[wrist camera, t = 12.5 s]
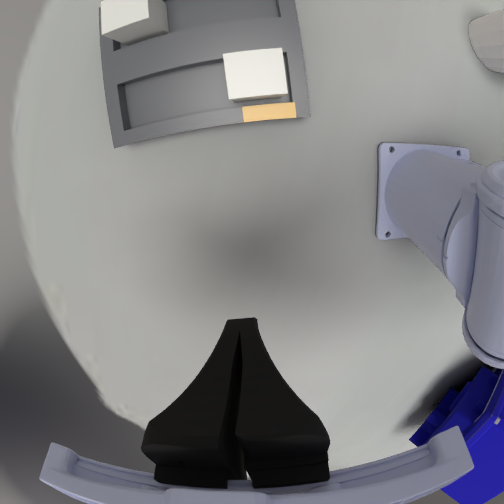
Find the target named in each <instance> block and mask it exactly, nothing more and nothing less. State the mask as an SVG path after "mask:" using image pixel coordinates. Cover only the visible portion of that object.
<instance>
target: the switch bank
mask: <svg viewBox="0 0 504 504" xmlns="http://www.w3.org/2000/svg"><path fill="white" fill-rule="evenodd" d="M163 1H164V3H165V4H166V7H167V18H168V28H169V34H165V35H162V36H158V37H155V38H151V39H148V40H145V41H142V42H139V43H136V44H133V45H130V46H128V45H126V44H123V43H121V42H118V41H116V40H113V39H111V38H108V37H106V36H103V35H102V30H101V7H100V8H99V29H100V47H101V60H102V71H103V80H104V89H105V96H106V104H107V110H108V117H109V123H110V129H111V134H112V140H113V145H114V148H117V147H121V146H124V145H128V144H132V143H136V142H140V141H144V140H148V139H152V138H156V137H161V136H165V135H170V134H175V133H180V132H185V131H190V130H196V129H202V128H207V127H214V126H220V125H227V124H234V123H242V122H251V121H261V120H271V119H284V118H298V117H310V107H309V97H308V88H307V79H306V71H305V64H304V56H303V49H302V43H301V36H300V30H299V24H298V18H297V12H296V7H295V1H294V0H163ZM271 48H282V52H283V59H284V66H285V74H286V82H287V90H288V94H286V95H285V96H283V97H281V98H272V99H261V100H251V101H242V102H235V103H234V102H233V101H231V100H229V97H228V89H227V82H226V74H225V67H224V59H223V54H225V53H232V52H240V51H249V50H259V49H271Z"/></svg>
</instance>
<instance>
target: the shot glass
mask: <svg viewBox="0 0 504 504" xmlns="http://www.w3.org/2000/svg"><path fill="white" fill-rule="evenodd" d="M468 29H469V38H470V41H471V45H472V48H473V50H474V51H475V53H476V55H477V57H478V58H479V60H480V61H481V62H482V63H483V65H484V66H485V67H487V68H488V69H490V70H491V71H495V72H502V73H504V9H503V10H500V11H497V12H494V13H491V14H488V15H485V16H482V17H480V18H477V19H475V20H472V21H471V22H470V25H469V27H468Z"/></svg>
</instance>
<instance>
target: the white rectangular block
mask: <svg viewBox="0 0 504 504" xmlns="http://www.w3.org/2000/svg"><path fill="white" fill-rule="evenodd" d="M101 30H102V35H103V36H106V37H108V38H111V39H113V40H116V41H118V42H121V43H123V44H126V45H128V46H130V45H133V44H136V43H139V42H142V41H145V40H148V39H151V38H155V37H158V36H162V35H165V34H169V28H168V18H167V7H166V4H165V3H164V1H163V0H105V1H103V2H101Z"/></svg>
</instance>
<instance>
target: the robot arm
mask: <svg viewBox="0 0 504 504" xmlns="http://www.w3.org/2000/svg"><path fill="white" fill-rule="evenodd" d="M390 146H392V148H393V149H392V151H391V152H389V147H390ZM457 151H458V154H457ZM378 152H379V179H378V209H377V226H376V236H377V238H378V239H379V240H389V239H398V238H409V239H410V240H411V241H412V242H413V243H414V244H415V245H416V246H417V247H418V248H419V249H420V250H421V251H422V252H423V253H424V254H425V255H426V256H427V257H428V258H429V259H430V260H431V261H432V262H433V263H434V265H435V266H436V267H437V268H438V269H439V270H440V271H441V272H442V273H443V274H444V276H445V277H446V278H447V279H448V280H449V281H450V283H451V284H452V285H453V286H454V287H455V289H456V298H457V299H458V300H459V301H460V303H461V304H462V305H463V306H464V308H466V309H465V312H464V316H463V321H462V329H463V335H464V339H465V341H466V343H467V345H468V347H469V349H470V350H471V351H472V353H473V354H474V355H475V356H476V357H477V358H478V359H480V360H481V361H482V362H484V363H486V364H488V365H490V366H492V367H495V368H500V369H504V160H502V161H497V162H494V163H492V164H490V165H489V166H488V167H484V166H482V165H480V164H477V163H475V162H472V161H469V160H470V152H469V150H468V149H467V148H463V147H454V146H443V145H431V144H415V143H390V142H383V143H381V144H380V145H379V148H378ZM388 231H389V234H388V235H385V234H386V232H388ZM329 445H330V438H329V435H328V433H327V431H326V429H325V427H324V425H323V423H322V422H321V420H320V418H319V417H318V416H317V415H316V414H315V413H314V412H313V411H312V410H311V409H310V408H309V407H308V406H306V405H305V403H304V402H303V401H302V400H301V399H300V398H299V397H298V396H297V395H296V394H295V392H294V391H293V390H292V389H291V388H290V387H289V385H288V384H287V383H286V381H285V380H284V379H283V377H282V376H281V374H280V373H279V371H278V370H277V368H276V367H275V365H274V363H273V361H272V360H271V358H270V356H269V354H268V352H267V350H266V348H265V346H264V343H263V341H262V339H261V336H260V333H259V329H258V323H257V319H256V318H243V319H231V320H228V321H227V322H226V325H225V327H224V330H223V332H222V334H221V336H220V338H219V341H218V343H217V344H216V346H215V348H214V350H213V352H212V354H211V355H210V357H209V359H208V360H207V362H206V363H205V365H204V367H203V368H202V370H201V371H200V372H199V374H198V375H197V376H196V378H195V379H194V380H193V382H192V383H191V384H190V385H189V386H188V387H187V389H186V390H185V391H184V392H183V393H182V394H181V395H180V396H179V397H178V398H177V399H176V400H175V401H174V402H173V403H172V404H171V405H170V406H169V407H167V408H166V409H165V410H164V411H163V412H161V413H160V414H159V415H157V416H156V417H155V418H153V419H152V420H151V421H149V423H148V425H147V428H146V431H145V433H144V438H143V442H142V446H141V450H142V452H143V453H144V454H145V455H146V456H147V457H148V458H149V459H150V460H152V461H153V462H154V463H155V464H156V468H155V473H154V474H153V473H147V472H141V471H136V470H131V469H126V468H121V467H117V466H113V465H109V464H105V463H101V462H98V461H94V460H91V459H87V458H84V457H81V456H78V455H77V454H76V453H75V452H74V451H72V450H71V449H69V448H67V447H64V446H61V445H59V444H56V443H53V442H52V443H51V445H50V448H49V451H48V454H47V456H46V459H45V462H44V465H43V468H42V472H41V474H40V480H42V481H43V482H45V483H46V484H48V485H50V486H52V487H53V488H55V489H57V490H59V491H61V492H63V493H64V494H66V495H68V496H71V497H73V498H75V499H78V500H80V501H82V502H85V503H88V504H407V503H409V502H412V501H414V500H417V499H419V498H421V497H424V496H426V495H428V494H430V493H433V492H434V491H437V490H439V489H441V488H443V487H445V486H447V485H449V484H451V483H452V482H454V481H456V480H457V479H459V478H460V477H462V476H463V475H465V474H466V473H468V472H469V471H471V470H472V469H473V468H474V464H473V461H472V459H471V456H470V453H469V451H468V448H467V446H466V443H465V441H464V438H463V436H462V433H461V431H460V429H459V426H455V427H452V428H450V429H448V430H446V431H444V432H441V433H439V434H437V435H435V436H434V437H433V438H431V439H430V440H429V442H428V443H427V444H425V445H422V446H419V447H417V448H414V449H411V450H409V451H406V452H403V453H400V454H397V455H394V456H391V457H387V458H384V459H381V460H377V461H374V462H370V463H366V464H362V465H358V466H354V467H349V468H345V469H340V470H335V471H330V472H329V466H328V453H327V451H328V448H329ZM246 470H247V472H248V474H249V476H250V478H251V480H247V474H246ZM301 492H304V494H292V493H301ZM282 494H286V495H282Z"/></svg>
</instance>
